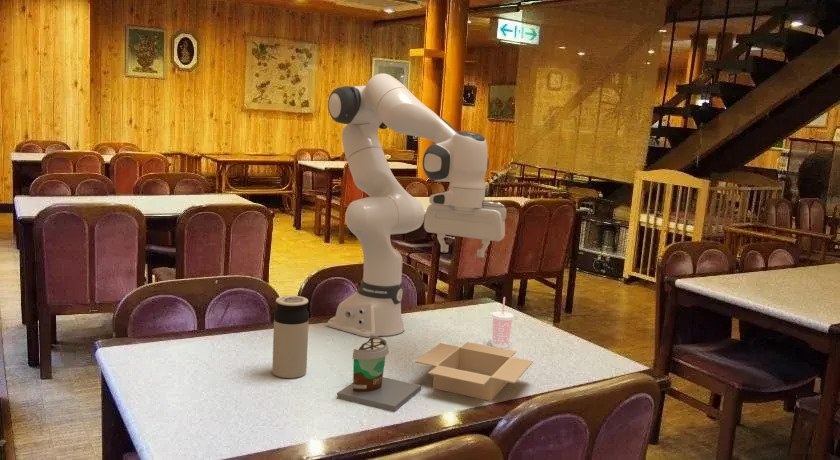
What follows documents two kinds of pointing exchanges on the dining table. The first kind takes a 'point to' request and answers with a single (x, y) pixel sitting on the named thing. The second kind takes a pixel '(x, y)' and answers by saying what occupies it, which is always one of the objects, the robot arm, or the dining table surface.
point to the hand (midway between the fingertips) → (462, 254)
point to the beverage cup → (501, 328)
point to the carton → (473, 369)
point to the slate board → (382, 394)
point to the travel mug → (290, 337)
